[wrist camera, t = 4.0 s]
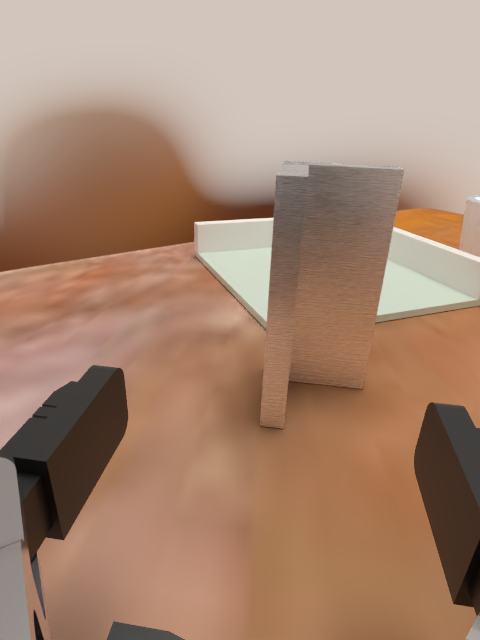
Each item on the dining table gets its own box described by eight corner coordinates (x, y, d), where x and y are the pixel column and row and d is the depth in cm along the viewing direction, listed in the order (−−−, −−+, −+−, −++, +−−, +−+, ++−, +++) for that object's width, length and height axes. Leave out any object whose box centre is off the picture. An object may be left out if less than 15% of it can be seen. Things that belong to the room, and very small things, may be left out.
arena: (350, 242, 53) (354, 213, 52) (486, 304, 37) (499, 264, 35) (194, 255, 46) (194, 222, 45) (275, 339, 30) (279, 290, 28)
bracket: (269, 368, 26) (284, 161, 21) (360, 377, 26) (399, 166, 21) (259, 425, 22) (276, 175, 16) (372, 439, 21) (427, 183, 16)
